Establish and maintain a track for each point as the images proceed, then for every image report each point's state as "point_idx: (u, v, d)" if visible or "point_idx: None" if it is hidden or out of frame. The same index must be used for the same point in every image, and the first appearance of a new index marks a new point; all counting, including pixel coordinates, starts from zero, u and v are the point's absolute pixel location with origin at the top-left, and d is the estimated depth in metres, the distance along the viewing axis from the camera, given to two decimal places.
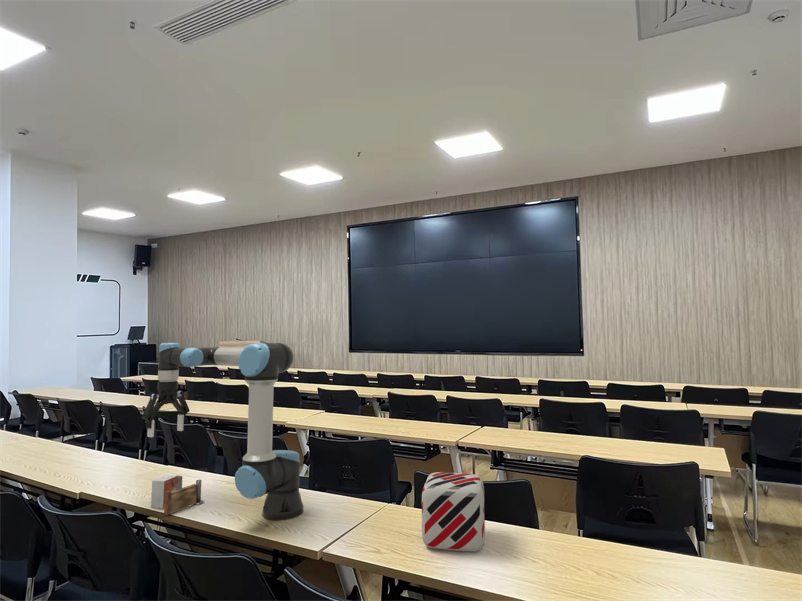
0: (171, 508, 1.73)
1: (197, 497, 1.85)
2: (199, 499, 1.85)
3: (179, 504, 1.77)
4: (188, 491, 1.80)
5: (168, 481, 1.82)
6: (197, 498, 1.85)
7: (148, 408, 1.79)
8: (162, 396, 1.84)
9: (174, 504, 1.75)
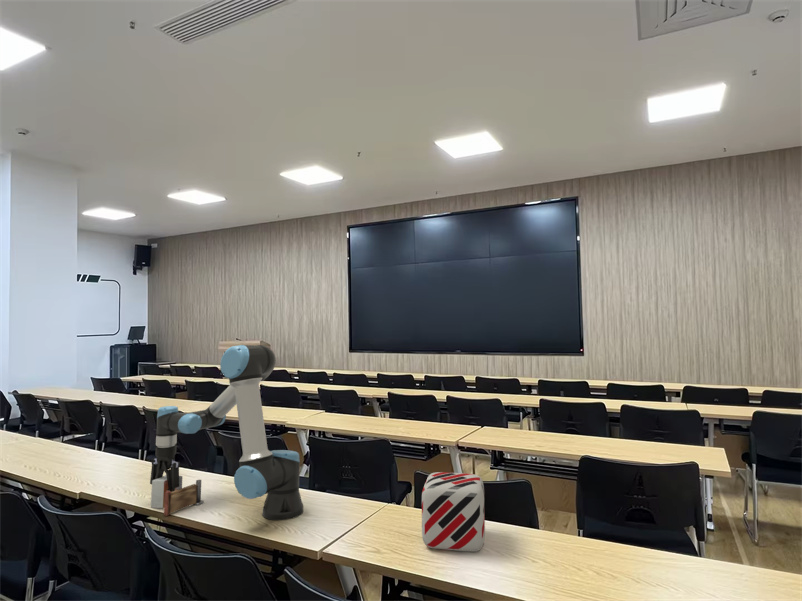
0: (171, 508, 1.73)
1: (197, 497, 1.85)
2: (199, 499, 1.85)
3: (179, 504, 1.77)
4: (188, 491, 1.80)
5: None
6: (197, 498, 1.85)
7: None
8: (157, 460, 1.85)
9: (174, 504, 1.75)
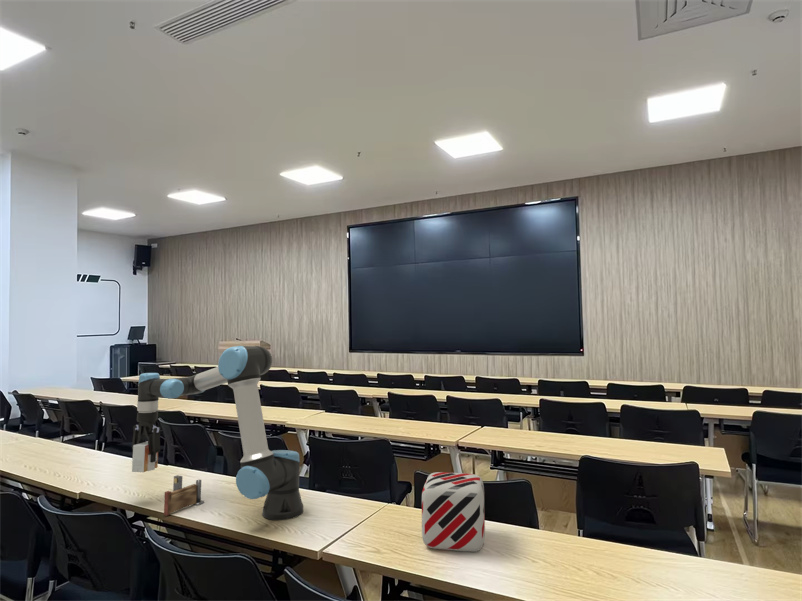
0: (171, 508, 1.73)
1: (197, 497, 1.85)
2: (199, 499, 1.85)
3: (179, 504, 1.77)
4: (188, 491, 1.80)
5: (148, 445, 1.84)
6: (197, 498, 1.85)
7: None
8: (139, 426, 1.87)
9: (174, 504, 1.75)
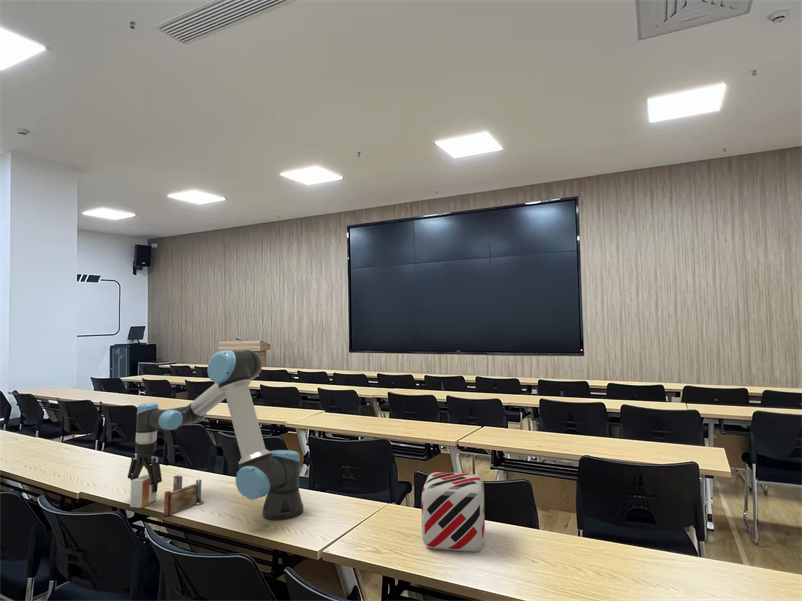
0: (171, 508, 1.73)
1: (197, 497, 1.85)
2: (199, 499, 1.85)
3: (179, 504, 1.77)
4: (188, 491, 1.80)
5: (146, 480, 1.83)
6: (197, 498, 1.85)
7: None
8: (137, 456, 1.86)
9: (174, 504, 1.75)
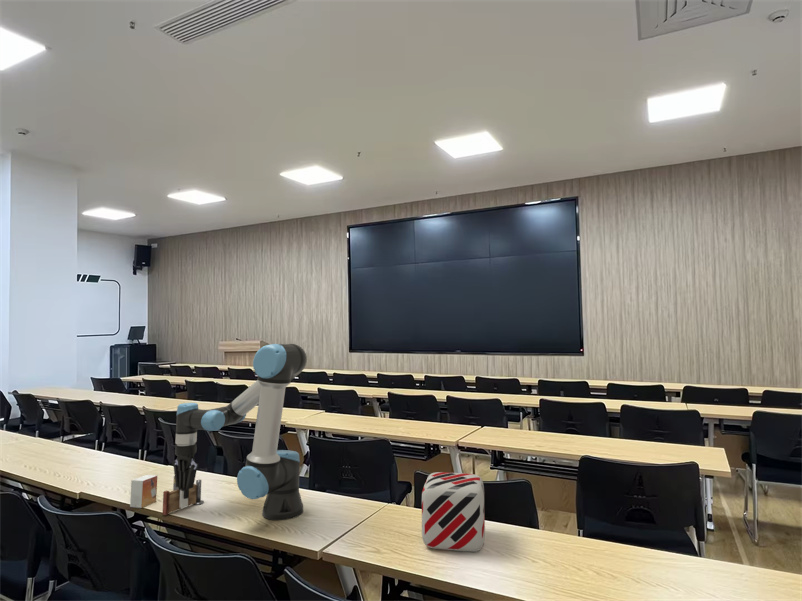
0: (170, 508, 1.74)
1: (197, 497, 1.85)
2: (199, 499, 1.85)
3: (178, 504, 1.77)
4: None
5: (147, 480, 1.83)
6: (197, 498, 1.85)
7: None
8: (178, 459, 1.78)
9: (173, 504, 1.75)
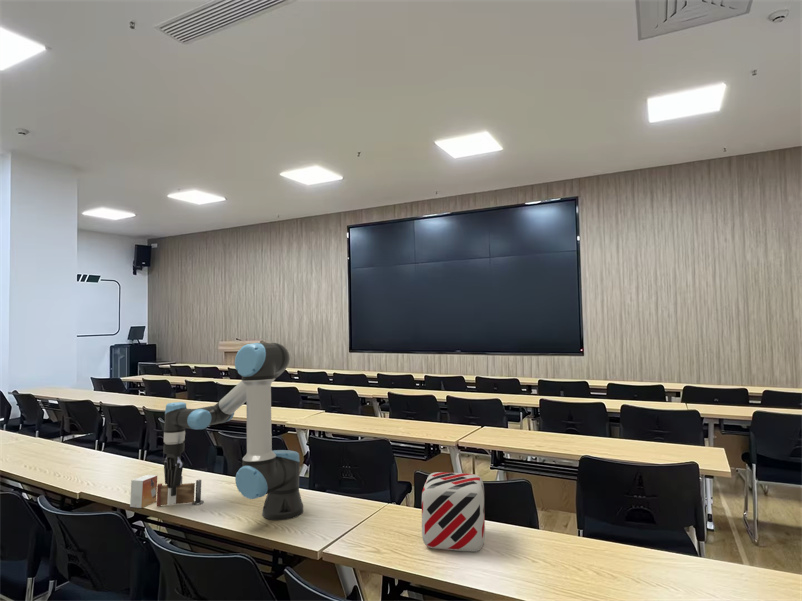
0: (162, 501, 1.81)
1: (197, 497, 1.85)
2: (199, 499, 1.85)
3: None
4: (181, 488, 1.83)
5: (147, 480, 1.83)
6: (197, 498, 1.85)
7: None
8: (167, 457, 1.82)
9: (165, 498, 1.82)
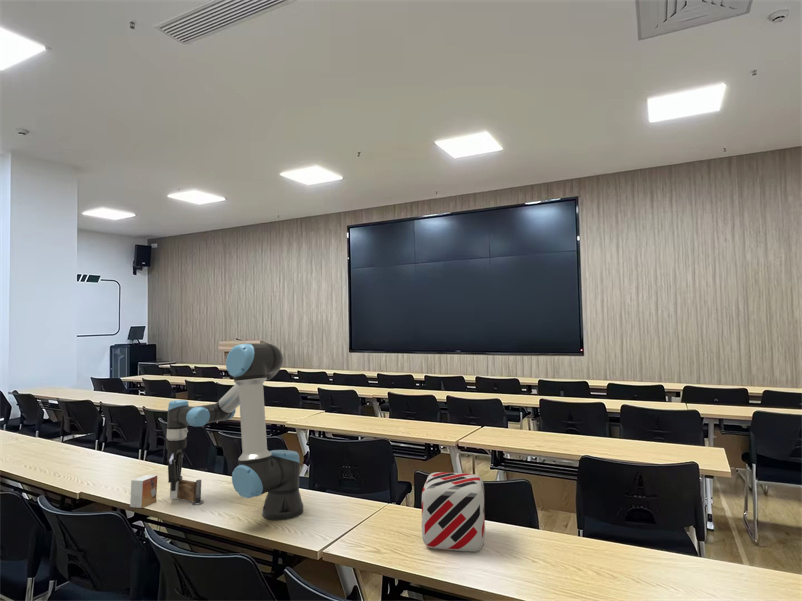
0: None
1: (197, 497, 1.85)
2: (199, 499, 1.85)
3: (179, 493, 1.89)
4: (185, 485, 1.87)
5: (147, 480, 1.83)
6: (197, 498, 1.85)
7: None
8: None
9: None
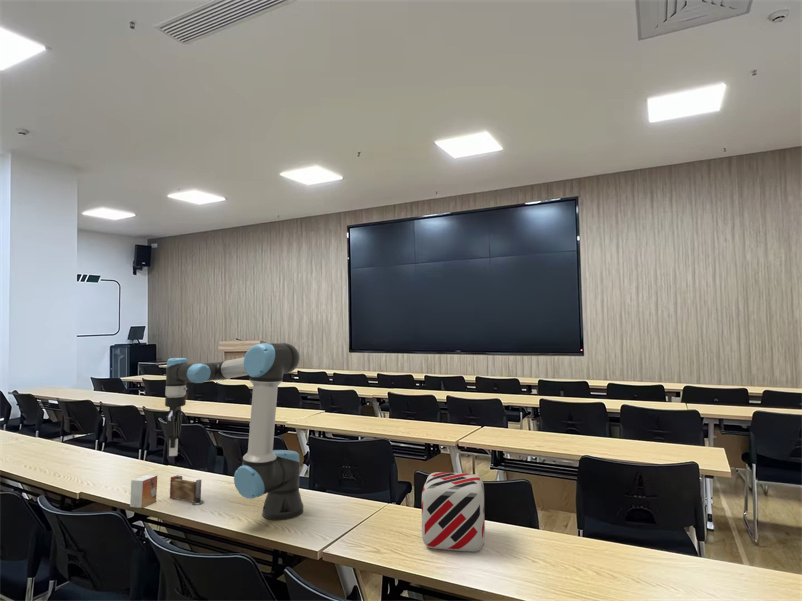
0: (173, 493, 1.90)
1: (197, 497, 1.85)
2: (199, 499, 1.85)
3: (179, 493, 1.89)
4: (185, 485, 1.87)
5: (147, 480, 1.83)
6: (197, 498, 1.85)
7: None
8: None
9: (175, 491, 1.90)
